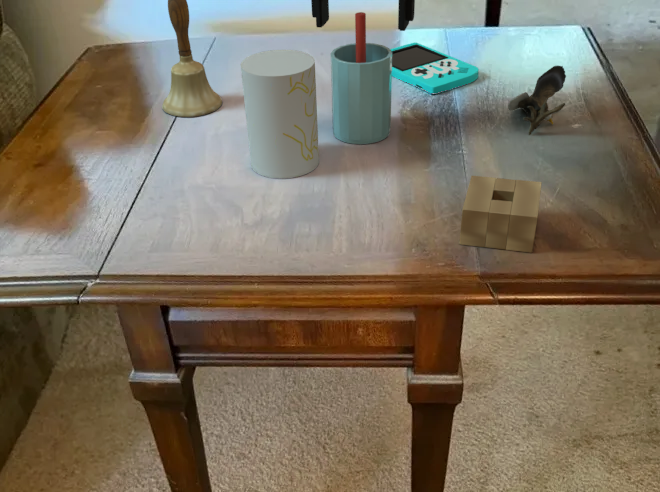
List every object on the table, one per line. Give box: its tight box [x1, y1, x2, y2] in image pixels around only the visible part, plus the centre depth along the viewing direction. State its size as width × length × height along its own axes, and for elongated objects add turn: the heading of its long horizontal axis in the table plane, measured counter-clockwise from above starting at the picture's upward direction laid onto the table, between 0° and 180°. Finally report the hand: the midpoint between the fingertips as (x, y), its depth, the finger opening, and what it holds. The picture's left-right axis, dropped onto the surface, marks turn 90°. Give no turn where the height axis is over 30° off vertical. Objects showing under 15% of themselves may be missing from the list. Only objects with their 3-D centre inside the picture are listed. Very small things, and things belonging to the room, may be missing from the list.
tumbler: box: [330, 42, 393, 145], centre depth 94 cm, size 7×7×10 cm
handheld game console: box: [389, 41, 480, 93], centre depth 112 cm, size 10×16×1 cm, turn 33°
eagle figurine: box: [507, 65, 567, 136], centre depth 95 cm, size 8×7×9 cm
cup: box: [240, 49, 320, 180], centre depth 87 cm, size 8×8×12 cm
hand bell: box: [161, 0, 223, 118], centre depth 101 cm, size 8×8×16 cm
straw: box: [354, 11, 367, 63], centre depth 92 cm, size 1×1×14 cm
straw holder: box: [458, 175, 543, 254], centre depth 76 cm, size 7×7×4 cm
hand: (362, 25), depth 89 cm, fingers open, 9 cm apart
